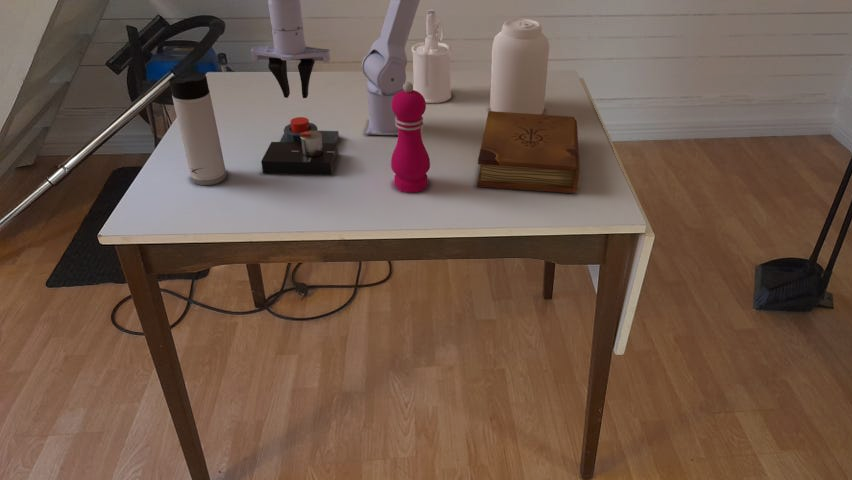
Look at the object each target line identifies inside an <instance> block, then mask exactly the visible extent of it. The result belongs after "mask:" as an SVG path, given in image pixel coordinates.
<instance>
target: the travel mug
mask: <svg viewBox="0 0 852 480" xmlns="http://www.w3.org/2000/svg"><path fill="white" fill-rule="evenodd" d="M168 83H169V87H170V91H171V97H172V102H173V107H174V110H175V114H176V119H177V123H178V127H179V132H180V136H181V141H182V144H183V150H184V153H185V158H186V162H187V165H188V170H189V175H190V178H191V181H192V182H193V183H194V184H196V185H200V186H212V185H216V184H219V183H221V182H222V181H224V180H225V179H226V177H227V171H226V165H225V161H224V156H223V155H224V154H223V151H222V150H223V149H222V146H221V140H220V136H219V131H218V125H217V120H216V115H215V111H214V106H213V101H212V96H211V92H210V91H211V90H210V87H209V83H208V78H207V75H206V74H202V73H190V74H188V75H180V74H179V75H176V76H175V75H174V76H172V77H170V78H169V79H168Z"/></svg>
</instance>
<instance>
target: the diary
mask: <svg viewBox="0 0 852 480" xmlns="http://www.w3.org/2000/svg"><path fill="white" fill-rule="evenodd" d="M578 133H579V132H578V120H577V119H576V118H575V116H571V115H570V116H569V115H555V114H526V113H510V112H495V111H492V110H488V111H487V117H486V121H485V125H484V131H483V135H482V139H481V145H480V149H479V153H478V159H477V164H478V165H480V168H479V173H478V177H477V181H476V183H477V184H476V186H477V187H481V188H494V189H495V188H496V189H506V190H507V189H508V190H522V191H523V190H524V191H535V192H550V193H564V194H565V193H566V194H574V193H575V192H576V191H577V190H578V186H579V180H580V179H579V178H580V156H579V155H580V154H579V136H578V135H579V134H578Z"/></svg>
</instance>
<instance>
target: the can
mask: <svg viewBox="0 0 852 480" xmlns="http://www.w3.org/2000/svg"><path fill="white" fill-rule="evenodd" d="M491 48H492V49H491V71H490V73H491V74H490V93H489V95H490V97H489V108H490V111H495V112H510V113H526V114H541V115H543V113H544V111H545V101H546V90H547V78H548V68H549V67H548V65H549V56H550V42H549V39H548V37H547V36H546V35H545V34H544V33H543V27H542V24H541V23H540V22H539V21H536V20H533V19H529V18H513V19H507V20H505V21H504V22H503V24H502V26H501V30H500V31H499V32H498V33H497V34H496V35H494V39H493V41H492V47H491Z"/></svg>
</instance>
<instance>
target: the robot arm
mask: <svg viewBox="0 0 852 480" xmlns="http://www.w3.org/2000/svg"><path fill="white" fill-rule="evenodd" d="M420 1H421V0H390V2H389V5H388V8H387V12H386V14H385V18H384V22H383V25H382V27H381V31H380V35H379V38H377V39H376V40H374V41H373V42H372V44H371V47H370V48H369V51H368V52H367V53H366V55H365V56H364V57H363V59H362V61H361V71H362V73H363V75H364V76H365V77H366V78H367V83H366V84H367V85H366V92H367V93H366V94H367V106H368V108H367V109H368V124H367V127H366V130H365V134H366V135H367V136H398V128H397V127H396V125H395V123H396V121H395V117H396V115H395V114H394V113H393V111H392V99H393V97H394V96H395V95H396V94H397V93H398V92H400V91H402V90H403V85H404V84H405V83H406V82H407V74H406V73H407V72H406V68H407V66H408V65H407V64H408V58H407V53H406V45H407V41H408V38H409V36H410V32H411V29H412V27H413V24H414V23H413V22H414V20H415V16H416V13H417V10H418V7H419V4H420ZM267 4H268V12H269V18H270V26H271V31H272V32H271V33H272V40H273V45H271V46H256V47H255V46H253V47H252V49H250V53H251V54H250V55H251V60H252V61H253V62H255V61H256V62H257V61H259V60H261V61H262V60H265V61H268V64H267V67H268V70H269V71H270V73H272V75H273V77H274V78H275V79H276V81H277V83H278V85H279V87H280V89H281V92H282V94H283V98H286V99H288V98H289V96H290V94H291V91H290V90H291V89H290V84H289V78H288V68H287V67H288V66H287V64H288V63H287V61H289V62H291V61H300V62H298V65H297V70H298V74H299V79H300V85H301V96H302V99H307V98H308V96H309V87H310V86H309V85H310V79H311V75H312V71H313V68H314V65H315V62H323V63H330V61H331V49H329V48H320V47H314V46H306V41H305V38H306V37H305V30H304V21H303V13H302V4H301V0H267Z"/></svg>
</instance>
